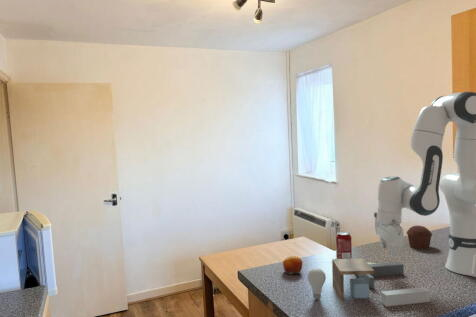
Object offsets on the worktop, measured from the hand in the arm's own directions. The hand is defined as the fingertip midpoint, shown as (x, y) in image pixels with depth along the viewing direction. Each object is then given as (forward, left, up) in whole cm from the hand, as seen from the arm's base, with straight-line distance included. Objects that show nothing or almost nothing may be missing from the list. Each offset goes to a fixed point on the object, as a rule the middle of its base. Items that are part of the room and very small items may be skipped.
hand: (388, 251), depth 143 cm
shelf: (+19, +16, -9) cm, 26 cm away
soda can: (+13, -19, -10) cm, 25 cm away
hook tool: (+3, +5, -10) cm, 11 cm away
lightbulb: (+33, +21, -10) cm, 40 cm away
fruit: (+38, -4, -10) cm, 39 cm away
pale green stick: (+6, -10, -10) cm, 15 cm away
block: (+17, +18, -9) cm, 27 cm away
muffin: (-28, -34, -10) cm, 45 cm away
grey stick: (+4, +24, -10) cm, 26 cm away
